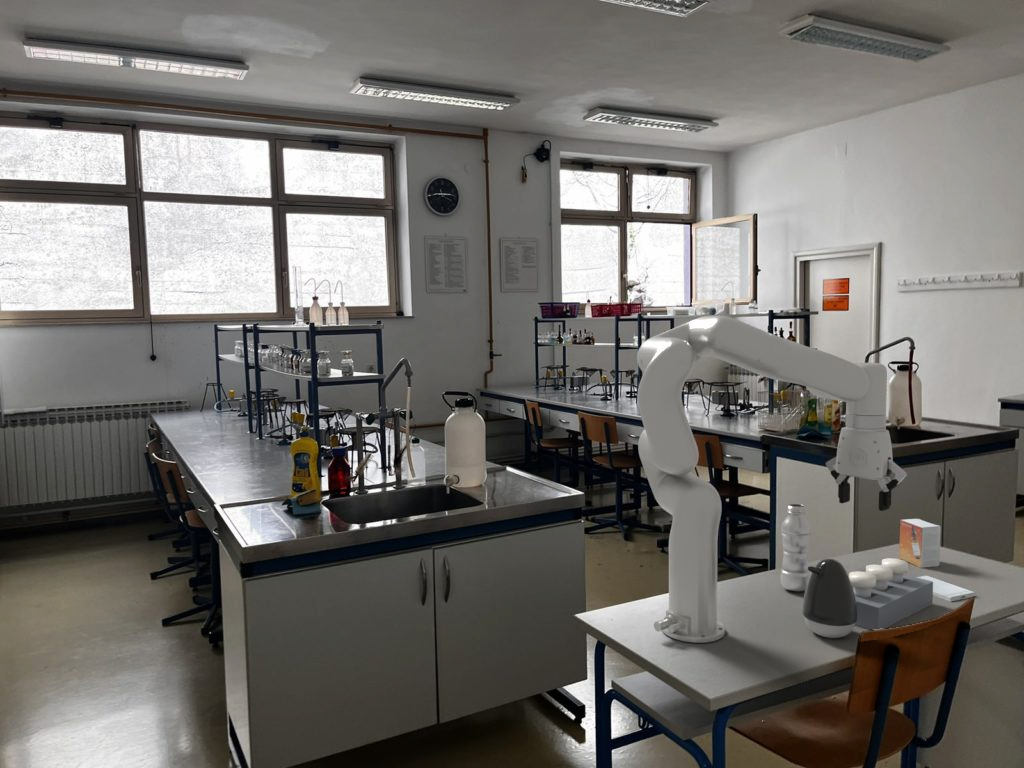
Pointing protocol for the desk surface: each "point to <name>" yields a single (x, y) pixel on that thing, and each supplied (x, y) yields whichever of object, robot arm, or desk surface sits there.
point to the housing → (894, 602)
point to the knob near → (862, 583)
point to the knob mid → (880, 576)
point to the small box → (919, 542)
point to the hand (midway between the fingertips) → (863, 505)
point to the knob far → (896, 569)
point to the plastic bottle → (795, 549)
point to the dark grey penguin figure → (829, 600)
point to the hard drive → (948, 590)
